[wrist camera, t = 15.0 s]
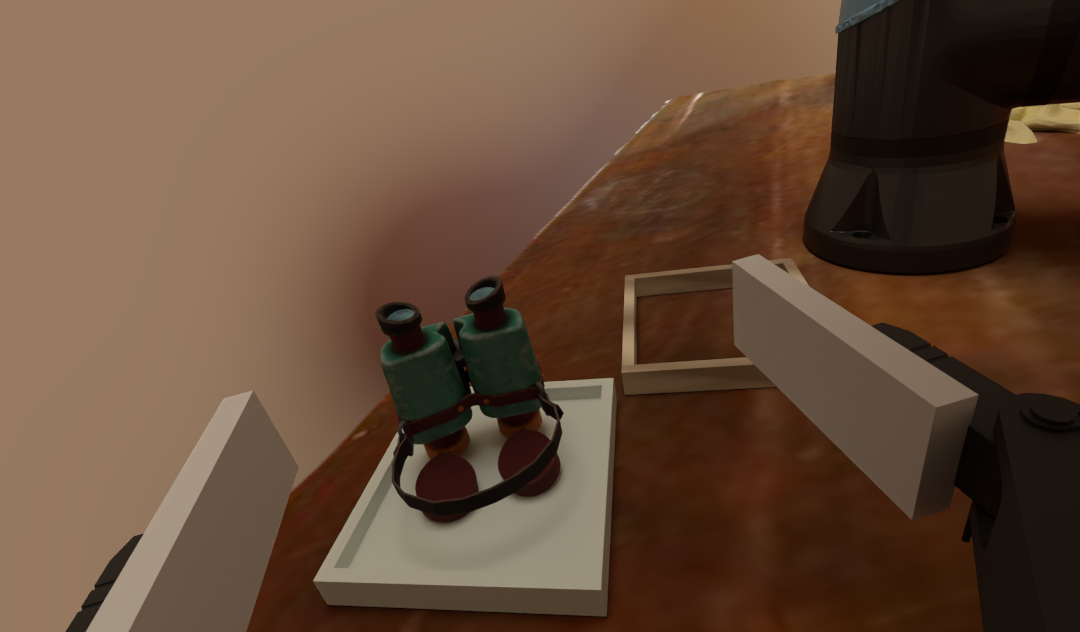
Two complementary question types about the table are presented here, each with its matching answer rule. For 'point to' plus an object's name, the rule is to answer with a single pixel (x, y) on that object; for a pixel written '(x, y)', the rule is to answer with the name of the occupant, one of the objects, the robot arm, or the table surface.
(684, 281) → the holder
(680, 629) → the table surface
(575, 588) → the tray
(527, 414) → the binoculars
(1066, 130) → the cloth
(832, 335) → the robot arm
